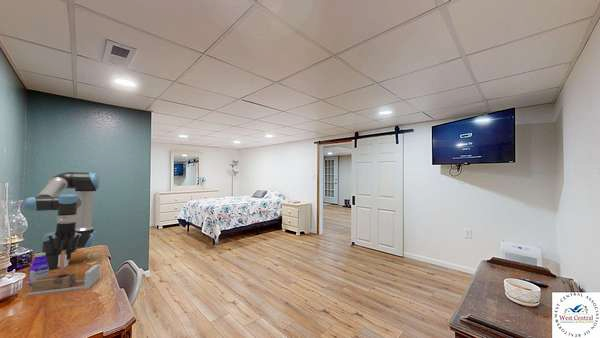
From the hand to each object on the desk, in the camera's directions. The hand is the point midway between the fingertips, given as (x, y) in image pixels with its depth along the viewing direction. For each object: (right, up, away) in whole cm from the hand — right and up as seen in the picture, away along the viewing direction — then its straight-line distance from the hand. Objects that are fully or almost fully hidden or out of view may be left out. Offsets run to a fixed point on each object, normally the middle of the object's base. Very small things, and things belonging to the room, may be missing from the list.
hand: (63, 265), depth 127 cm
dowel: (0, -4, 0) cm, 4 cm away
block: (-3, -11, -2) cm, 12 cm away
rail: (0, -13, 0) cm, 13 cm away
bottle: (-19, -13, +5) cm, 23 cm away
